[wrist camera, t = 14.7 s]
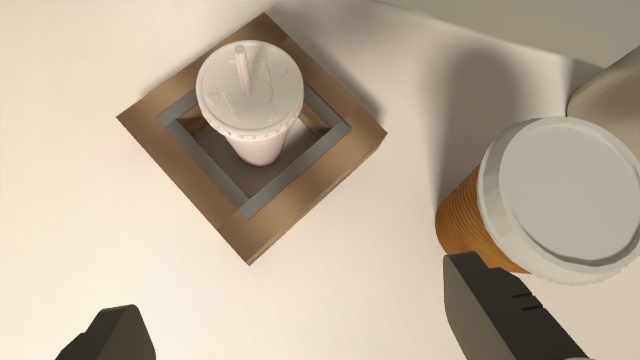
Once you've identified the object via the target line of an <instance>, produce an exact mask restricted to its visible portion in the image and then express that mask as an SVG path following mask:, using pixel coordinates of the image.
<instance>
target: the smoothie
mask: <svg viewBox="0 0 640 360" xmlns="http://www.w3.org/2000/svg"><path fill="white" fill-rule="evenodd" d="M303 88H304V86H303V79H302V75H301V72H300V70H299V68H298V66H297V64H296V63H295V61H294V60H293V59H292V58H291V57H290V56H289V55H288V54H287V53H286V52H285V51H283V50H282V49H280V48H278V47H277V46H275V45H272V44H270V43H267V42H263V41H257V40H243V41H236V42H233V43H230V44H227V45H225V46H223V47H221V48H219V49H217V50H216V51H215V52H213V53H212V54H211V55H210V56H209V57H208V58H207V59H206V60H205V62H204V63H203V65H202V66H201V68H200V70H199V73H198V76H197V80H196V95H197V99H198V103H199V106H200V109H201V112H202V114H203V116H204V117H205V119H206V120H207V121H208V123H209V124H210V125H211V126H212V127H213V128H214V129H216V130H217V131H218V132H220V133H221V134H223V135H224V136H225V137H226V139H227V140H228V142H229V143H230V144H231V146H232V147H233V148H234V150H235V151H236V152H237V154H238V155H239V156H240V158H241V159H242V160H243V161H244V162H246V163H247V164H249V165H252V166H258V167H260V166H266V165H269V164H271V163H272V162H274V161H275V160H276V159H277V158H278V156H279V155H280V153H281V150H282V147H283V144H284V142H285V139H286V136H287V133H288V130H289V127H290V126H291V124H292V123H293V122H294V121H295V120H296V119H297V117H298V115H299V113H300V111H301V108H302V105H303V99H304V90H303Z"/></svg>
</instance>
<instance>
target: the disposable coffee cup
mask: <svg viewBox="0 0 640 360" xmlns="http://www.w3.org/2000/svg"><path fill="white" fill-rule="evenodd" d="M436 232H437V237H438V240H439V242H440V244H441V246H442V247H443V249H444V251H445V252H446V253H447V254H448V255H450V254H456V253H462V252H468V251H475V252H476V253H477V254H478V255H479V256H480V257H481V259H482V260H483V261H484V262H485V264H486V265H487V266H488V268H489V269H490V268H497V267H501V268H503V269H504V270H506V271H508V272H516V273H525V274H533V275H535V276H537V277H538V278H541V279H545V280H548V281H551V282H555V283H558V284H562V285H570V286H574V285H590V284H594V283H599V282H602V281H604V280H606V279H608V278H610V277H612V276H613V275H615V274H617V273H619V272H620V271H621V270H622V269H623V268H624V267H626V266H627V265H629V264H630V263H631V262H632V261H633V260H635V259H636V258H637V257H638V256H639V255H640V164H639V162H638V160H637V158H636V157H635V156H634V154H633V153H632V152H631V151H630V150H629V149H628V148H627V147H626V146H625V144H624V143H623V142H621V141H620V140H619V139H618V138H616V137H615V136H614V135H613V134H611V133H610V132H608V131H607V130H605V129H603V128H602V127H600V126H598V125H595V124H593V123H591V122H588V121H585V120H581V119H577V118H574V117H550V118H536V119H530V120H526V121H523V122H519V123H517V124H515V125H513V126H511V127H509V128H508V129H506V130H504V131H503V132H502V133H501V134H500V135H498V136H497V137H496V139H495V140H494V141H493V142H492V143H491V145H490V146H489V147H488V149H487V151H486V153H485V155H484V157H483V159H482V161H481V163H480V164H479V165H478V167H476V168H475V170H474V171H472V173H471V174H470V175H469V176H468V177H467V178H466V179H465V180H464V181H463V182H462V183H461V184H460V185H459V186H458V187H457V189H456V190H455V191H454V192H453V193H452V194H451V195H450V196H449V197H448V198H447V199H446V200H445V201H444V202H443V203H442V205H441V206H440V208H439V210H438V212H437V216H436Z"/></svg>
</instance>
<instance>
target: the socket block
mask: <svg viewBox="0 0 640 360" xmlns="http://www.w3.org/2000/svg"><path fill="white" fill-rule="evenodd" d="M243 40H257V41H263V42H267V43H270V44H272V45H275V46H277V47H278V48H280V49H282V50H283V51H285V52H286V53H287V54H288V55H289V56H290V57H291V58H292V59H293V60H294V61H295V63H296V64H297V66H298V68H299V70H300V72H301V75H302V79H303V86H304V88H303V90H304V99H303V105H302V108H301V111H300V113H299V115H298V118H299V119H300V120H301V121H302V122H303V123H304V124H305V125H306V126H307V127H308V128H309V129H310V130H311V131H312V132H313V133H314V134H315V135H316V136H317V137H318V138H319V140H318V141H317V142H316V143H315V144H313V145H312V146H311V147H310V148H309V149H308V150H306V151H305V152H304V153H303V154H302V155H301V156H299V157H298V158H297V159H296V160H295V161H294V162H292V163H291V164H290V165H289V166H288V167H287V168H285V169H284V170H283V171H282V172H281V173H280V174H278V175H277V176H276V177H275V178H274V179H273V180H271V181H270V182H269V183H268V184H267V185H266V186H264V187H263V188H262V189H261V190H260V191H259V192H257V193H256V194H255V195H254V196H253V197H252V198H250V199H249V198H248V197H247V196H246V195H245V194H244V193H243V192H242V190H241V189H240V188H239V187H238V186H237V185H236V184H235V183H234V182H233V181H232V180H231V179H230V177H229V176H228V175H227V174H226V173H225V172H224V171H223V170H222V169H221V168H220V167H219V166H218V164H217V163H216V162H215V161H214V160H213V159H212V158H211V157H210V156H209V155H208V154H207V152H206V151H205V150H204V149H203V148H202V147H201V146H200V145H199V144H198V143H197V142H196V141H195V139H194V138H193V137H192V135H193V134H195V133H196V132H197V131H198V130H200V129H201V128H202V127H204V126H205V125H206V124H208V121H207V120H206V119H205V117H204V116H203V114H202V112H201V109H200V106H199V103H198V99H197V95H196V80H197V76H198V73H199V70H200V68H201V66H202V65H203V63H204V62H205V60H206V59H207V58H208V57H209V56H210V55H211V54H212V53H213V52H215V51H216V50H217V49H219V48H221V47H223V46H225V45H227V44H230V43H233V42H236V41H243ZM116 118H117V119H118V120H119V121H120V122H121V123H122V125H123V126H124V127H125V128H126V129H127V130H128V131H129V132H130V134H131V135H132V136H133V137H134V138H135V139H136V140H137V141H138V143H139V144H140V145H141V146H142V147H143V148H144V149H145V150H146V152H147V153H148V154H149V155H150V156H151V157H152V158H153V159H154V161H155V162H156V163H157V164H158V165H159V166H160V167H161V168H162V169H163V171H164V172H165V173H166V174H167V175H168V176H169V177H170V178H171V180H172V181H173V182H174V183H175V184H176V185H177V186H178V187H179V189H180V190H181V191H182V192H183V193H184V194H185V195H186V196H187V198H188V199H189V200H190V201H191V202H192V203H193V204H194V205H195V207H196V208H197V209H198V210H199V211H200V212H201V213H202V214H203V216H204V217H205V218H206V219H207V220H208V221H209V222H210V223H211V224H212V226H213V227H214V228H215V229H216V230H217V231H218V232H219V233H220V235H221V236H222V237H223V238H224V239H225V240H226V241H227V242H228V244H229V245H230V246H231V247H232V248H233V249H234V250H235V251H236V253H237V254H238V255H239V256H240V257H241V258H242V259H243V260H244V262H245V263H246V264H248V265H249V266H250V265H251V264H252V263H253V262H254V261H255V260H257V259H258V258H259V257H260V256H261V255H262V254H263V253H264V252H265V251H266V250H268V249H269V248H270V247H271V246H272V245H273V244H274V243H275V242H276V241H277V240H278V239H280V238H281V237H282V236H283V235H284V234H285V233H286V232H287V231H288V230H289V229H291V228H292V227H293V226H294V225H295V224H296V223H297V222H298V221H299V220H300V219H301V218H303V217H304V216H305V215H306V214H307V213H308V212H309V211H310V210H311V209H312V208H314V207H315V206H316V205H317V204H318V203H319V202H320V201H321V200H322V199H323V198H324V197H326V196H327V195H328V194H329V193H330V192H331V191H332V190H333V189H334V188H335V187H337V186H338V185H339V184H340V183H341V182H342V181H343V180H344V179H345V178H346V177H347V176H349V175H350V174H351V173H352V172H353V171H354V170H355V169H356V168H357V167H358V166H360V165H361V164H362V163H363V162H364V161H365V160H366V159H367V158H368V157H369V156H370V155H372V154H373V153H374V152H375V151H376V150H377V149H378V147H379V146H380V144H381V143H382V141H383V140H384V138H385V137H386V135H387V132H386V131H385V130H384V129H383V128H382V127H381V126H380V125H379V124H378V123H377V122H376V121H375V120H374V119H373V118H372V117H371V116H370V115H369V114H368V113H367V112H366V111H365V110H364V109H363V108H362V107H361V106H359V105H358V104H357V103H356V102H355V101H354V100H353V99H352V98H351V97H350V96H349V95H348V94H347V93H346V92H345V91H344V90H343V89H342V88H341V87H340V86H339V85H338V84H337V83H336V82H335V81H334V80H333V79H332V78H331V77H330V76H329V75H328V74H327V73H326V72H325V71H324V70H323V69H322V68H321V67H320V66H319V65H318V64H317V63H316V62H315V61H313V60H312V59H311V58H310V57H309V56H308V55H307V54H306V53H305V52H304V51H303V50H302V49H301V48H300V47H299V46H298V45H297V44H296V43H295V42H294V41H293V40H292V39H291V38H290V37H289V36H288V35H287V34H286V33H285V32H284V31H283V30H282V29H281V28H280V27H279V26H278V25H277V24H276V23H275V22H274V21H273V20H272V19H271V18H270V17H269V16H267V15H266V14H265V13H264V12H263V13H262V14H261V15H259V16H258V17H256V18H255V19H253V20H252V21H251V22H249V23H248V24H246V25H245V26H244V27H242V28H241V29H239V30H238V31H237V32H235V33H234V34H232V35H231V36H229V37H228V38H227V39H225V40H224V41H222V42H221V43H220V44H218V45H217V46H215V47H214V48H213V49H211V50H210V51H208V52H207V53H205V54H204V55H203V56H201V57H200V58H198V59H197V60H196V61H194V62H193V63H191V64H190V65H189V66H187V67H186V68H184V69H183V70H181V71H180V72H179V73H177V74H176V75H174V76H173V77H172V78H170V79H169V80H167V81H166V82H165V83H163V84H162V85H160V86H159V87H157V88H156V89H155V90H153V91H152V92H150V93H149V94H148V95H146V96H145V97H143V98H142V99H141V100H139V101H138V102H136V103H135V104H133V105H132V106H131V107H129V108H128V109H126V110H125V111H124V112H122V113H121V114H119V115H118V116H117V117H116Z"/></svg>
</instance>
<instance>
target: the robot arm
mask: <svg viewBox="0 0 640 360" xmlns="http://www.w3.org/2000/svg"><path fill="white" fill-rule="evenodd" d="M567 117H574V118H577V119H581V120H585V121H588V122H591V123H593V124H595V125H598V126H600V127H602V128H603V129H605V130H607V131H608V132H610V133H611V134H613V135H614V136H615V137H616V138H618V139H619V140H620V141H621V142H623V143H624V144H625V146H626V147H627V148H628V149H629V150H630V151H631V152H632V153H633V154H634V156H635V157H636V158H637V160H638V162H639V164H640V46H638V47H637V48H635V49H634V50H633V51H631V52H630V53H628V54H627V55H626V56H624V57H623V58H621V59H620V60H618V61H617V62H615V63H614V64H612V65H611V66H609V67H608V68H606V69H605V70H604V71H602V72H601V73H599V74H598V75H596V76H595V77H594V78H592V79H591V80H589V81H588V82H586V83H585V84H584V85H582V86H581V87H579V88H578V89H577V90H576V91H575V93H574V94H573V95H572V97H571V99H570V101H569V105H568V109H567ZM443 276H444V303H445V311H446V315H447V319H448V322H449V325H450V327H451V329H452V331H453V333H454V335H455V337H456V339H457V341H458V343H459V345H460V347H461V349H462V351H463V353H464V355H465V357H466V359H467V360H594V359H590V358H589V357H588V356H587V355H586V354H585V353H584V352H583V351H582V349H581V348H580V347H579V346H578V345H577V344H576V343H575V341H574V340H573V339H572V338H571V337H570V336H569V335H568V333H567V332H566V331H565V330H564V329H563V328H562V327H561V325H560V324H559V323H558V322H557V321H556V320H555V319H554V317H553V316H552V315H551V314H550V313H549V312H548V311H547V309H546V308H543V305H542V304H541V303H540V301H539V300H538V299H537V298H536V297H535V296H533V295H532V292H531V291H530V290H529V289H528V288H527V287H526V285H525V284H524V283H523V282H522V281H521V280H520V279H519V278H518V277H516V276H515V275H513V274H511V273H509V272H508V271H506V270H504V269H503V268H501V267H497V268H490V269H489V268H488V266H487V265H486V264H485V262H484V261H483V260H482V259H481V257H480V256H479V255H478V254H477V253H476V252H475V251H468V252H462V253H456V254H450V255H445V256H444V258H443ZM55 360H156V354H155V349H154V346H153V344H152V341H151V339H150V336H149V334H148V331H147V329H146V326H145V324H144V321H143V319H142V316H141V314H140V311H139V309H138V308H137V306H135V305H133V304H131V305H125V306H119V307H113V308H106V309H102V310H101V311H99V313H98V314H97V316H96V317H95V319H94V320H93V321H92V323H91V324H90V326H89V327H88V329H87V330H86V332H84V333H81V334H79V335H78V336H77V337H76V338H75V339H74V340H73V341H72V342H70V343H69V344H68V345H67V346H66V347H65V348H64V349H63V350H62V351H61V352H60V353H59V355H58V356H57V358H56V359H55Z"/></svg>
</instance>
